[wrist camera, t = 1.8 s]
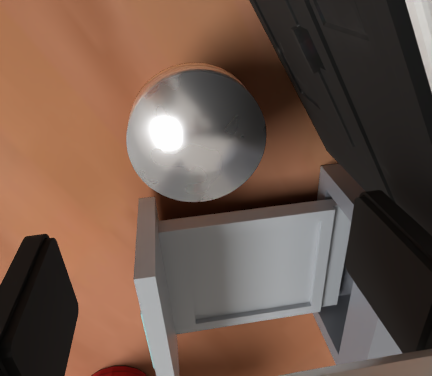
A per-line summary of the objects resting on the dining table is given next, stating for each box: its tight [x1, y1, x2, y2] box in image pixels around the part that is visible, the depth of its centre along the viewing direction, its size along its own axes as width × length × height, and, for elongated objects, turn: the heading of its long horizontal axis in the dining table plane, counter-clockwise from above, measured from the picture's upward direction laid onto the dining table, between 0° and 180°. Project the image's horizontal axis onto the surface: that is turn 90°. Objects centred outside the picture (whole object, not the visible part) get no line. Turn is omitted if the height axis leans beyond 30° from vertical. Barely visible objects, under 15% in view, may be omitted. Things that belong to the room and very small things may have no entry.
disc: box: [126, 63, 266, 202], centre depth 17 cm, size 6×6×2 cm
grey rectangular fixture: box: [134, 197, 351, 376], centre depth 24 cm, size 12×14×7 cm
